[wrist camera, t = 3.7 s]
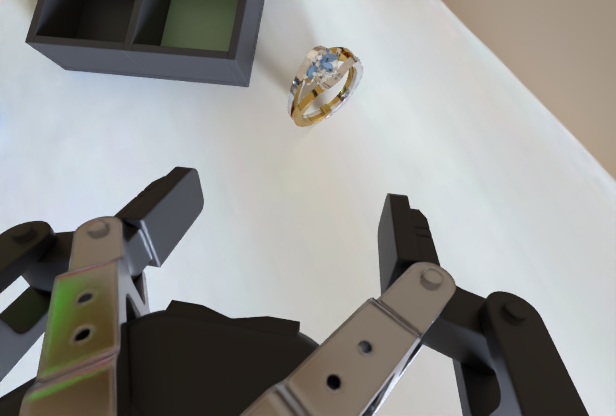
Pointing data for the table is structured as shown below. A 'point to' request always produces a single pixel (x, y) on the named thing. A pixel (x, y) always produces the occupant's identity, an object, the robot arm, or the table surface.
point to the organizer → (151, 37)
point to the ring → (317, 69)
